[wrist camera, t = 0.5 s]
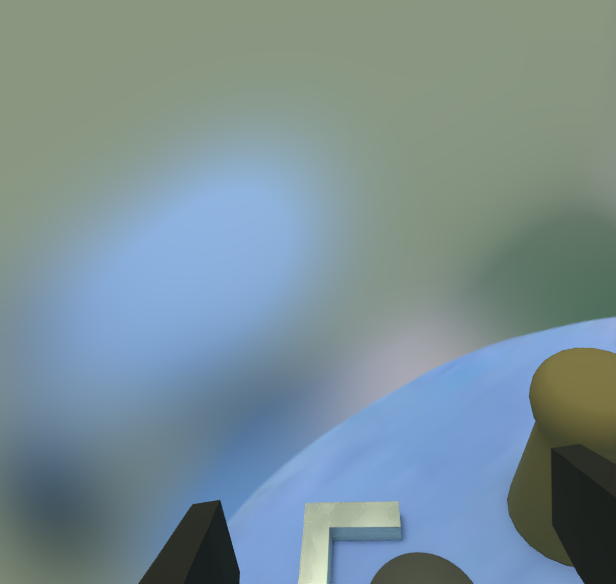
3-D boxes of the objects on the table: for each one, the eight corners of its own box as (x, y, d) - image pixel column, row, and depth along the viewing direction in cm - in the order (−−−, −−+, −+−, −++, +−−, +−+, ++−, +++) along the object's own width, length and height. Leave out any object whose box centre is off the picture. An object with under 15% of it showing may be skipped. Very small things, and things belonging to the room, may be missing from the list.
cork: (656, 544, 25) (723, 399, 19) (553, 585, 24) (588, 448, 18) (573, 453, 30) (605, 315, 24) (486, 484, 29) (496, 351, 23)
